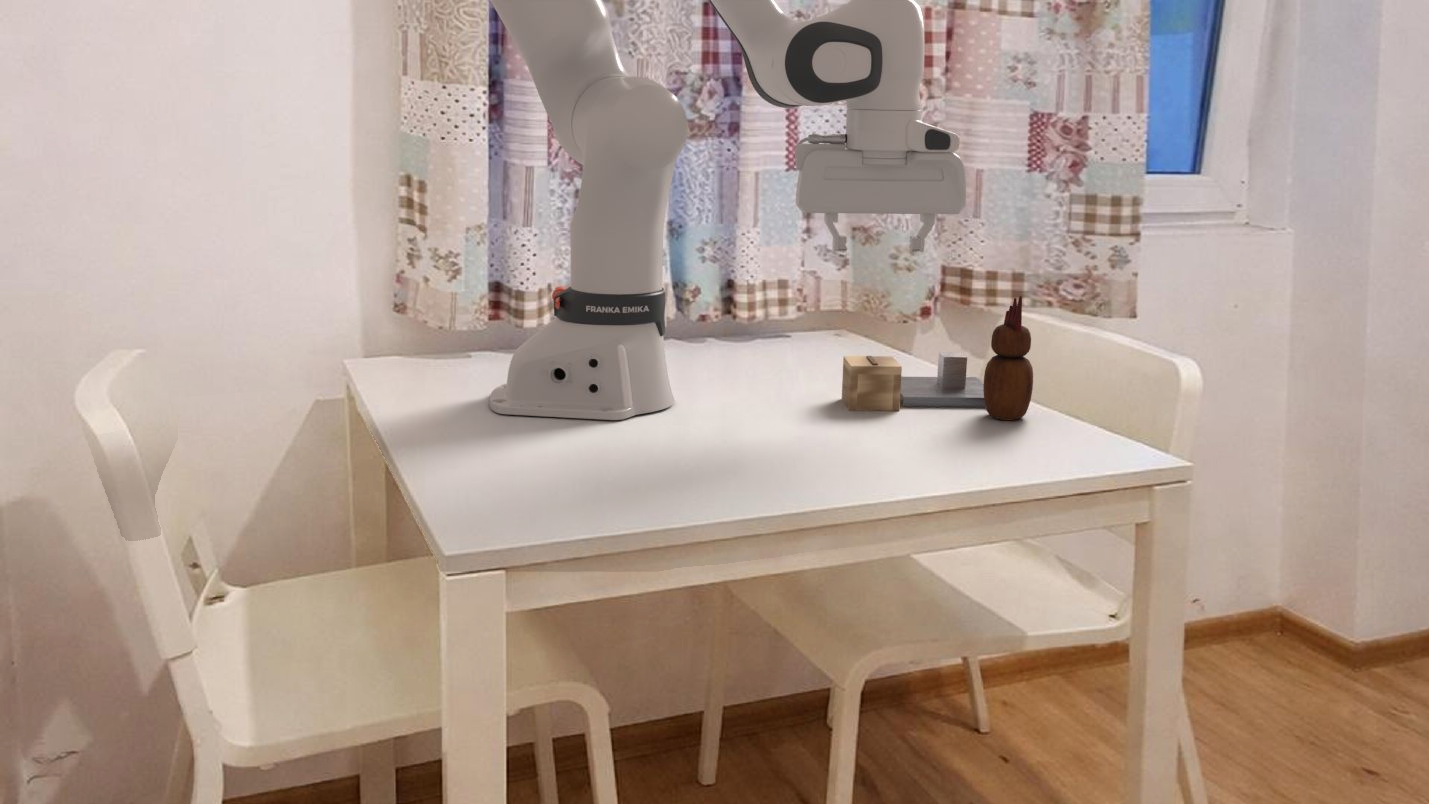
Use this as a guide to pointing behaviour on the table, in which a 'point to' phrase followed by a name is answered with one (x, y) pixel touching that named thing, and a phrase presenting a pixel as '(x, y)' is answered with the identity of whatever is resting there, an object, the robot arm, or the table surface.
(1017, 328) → the wooden figurine
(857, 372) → the wooden coin bank
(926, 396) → the plate
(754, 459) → the table surface
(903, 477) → the table surface
